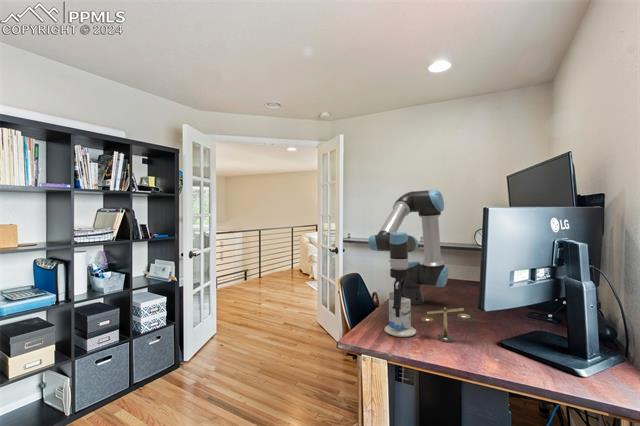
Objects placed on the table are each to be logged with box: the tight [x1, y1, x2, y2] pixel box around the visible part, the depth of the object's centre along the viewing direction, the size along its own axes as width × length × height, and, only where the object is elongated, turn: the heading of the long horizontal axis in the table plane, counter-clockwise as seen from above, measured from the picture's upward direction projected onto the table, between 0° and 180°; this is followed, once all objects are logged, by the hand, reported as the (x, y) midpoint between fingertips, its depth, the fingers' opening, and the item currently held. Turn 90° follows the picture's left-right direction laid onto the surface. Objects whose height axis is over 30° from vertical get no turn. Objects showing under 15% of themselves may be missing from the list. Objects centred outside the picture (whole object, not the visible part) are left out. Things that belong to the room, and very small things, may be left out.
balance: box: [421, 306, 471, 343], centre depth 121 cm, size 6×18×13 cm, turn 66°
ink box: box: [388, 291, 412, 330], centre depth 129 cm, size 8×5×15 cm, turn 123°
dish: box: [384, 324, 417, 338], centre depth 129 cm, size 13×13×1 cm
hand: (400, 320), depth 129 cm, fingers closed on ink box, 9 cm apart
